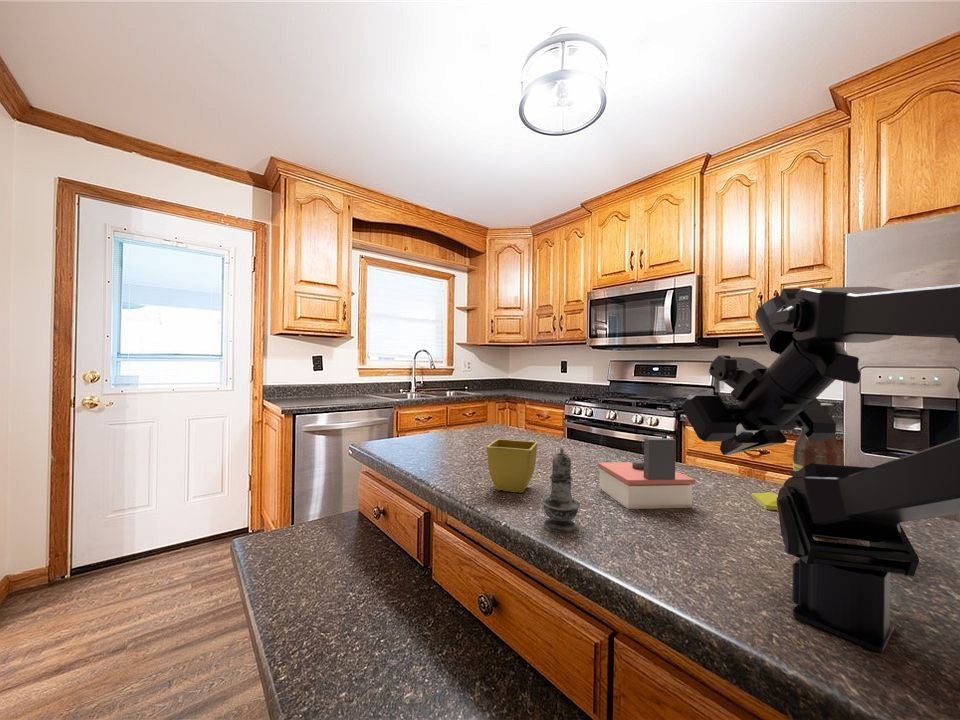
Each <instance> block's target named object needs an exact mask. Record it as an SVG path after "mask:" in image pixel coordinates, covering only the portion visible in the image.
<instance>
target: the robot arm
mask: <svg viewBox="0 0 960 720" xmlns="http://www.w3.org/2000/svg"><path fill="white" fill-rule="evenodd" d="M754 315H755V316H754V317H755V321H756V324H757V325H758V328H759V330H760V331H761V334H762V336H763V338H764V340H765V342H766V344H767V346H768V347H769V350H770V351H771V352H774V353H776V354H778V355H779V356H777V357H776V358H775V360H774V361H773V362H772V363H771V364H770V365H769V367H768V366H766V365H764V364H762V363H760V361H757V360H755V359H753V358H751V357H750V358H749V357H744V356H743V357H741V356H737V357H736V356H730V355H728V354H727V355H725V354H724V355H722V354H720V355H717V357H715V358H714V360H713V361H712V362H711V364H710V366H709V369H708V372H709V375H710V376H711V377H713V378H714V379H716V380H717V381H719V382H723V383H724V384H726V385H727V386H729V387H730V388H731V389H732V391H730V393H729V394H730V395H731V396H732V398H733V399H734V401H738V402H739V403H738V404H725V403H724V401H723V400H722V399H721V397H720V396H719V395H715V394H689V395H687V397H686V398H685V400H684V401H683V402H682V404H681V406H680V407H681V410H682V412H683V413H684V415H685V416H686V418H687V420H688V422H689V424H690V425H691V427H692V429H693V430H694V432H695V434H696V436H697V438H698V439H699V440H700V441H701V440H702V441H703V442H706V443H707V442H708V443H709V442H715V443H716V442H720V445H719V446H720V447H719V451H720V452H721V454H722V455H723V456H729V455H730V456H731V455H734V454H738V453H743V452H747V451H751V450H755V449H761V448H766V447H770V446H775V445H781V444H783V445H784V444H785V443H787V441H788V440H787V438H786V437H785V435H784V434H783V431H793V430H795V429H797V428H800V429H801V427H803V424H802V423H805V425H806V426H807V427H808V428H809V431H808V432H806V433H805V436H806V438H807V439H808V441H826V440H828V439H829V438H830V437H831V436H833V435H834V436H835V434H837V422H836V421H835V420H834V418H833V417H832V418H831V417H830V416H829V414H828V413H827V412H826V411H825V410H824V409H823V408H822V406H821V403H822V402H820V401H819V400H818V399H817V398H818V397H819V396H820V395H821V394H822V393H823V392H824V391H825V390H826V389H827V388H829V387H830V385H832V384H833V383H834V382H835V381H839V382H846V383H850V384H854V385H856V384H859V383H860V380H861V371H860V368H859V361H860V358H859V357H858V356H854V355H850V354H849V353H848V352H847V351H846V349H845V348H844V347H843V345H842V344H840V343H852V344H853V343H856V344H857V343H858V344H864V343H866V344H867V343H868V344H869V343H874V342H875V343H876V342H881V341H886V340H890V339H891V338H893V337H894V336H899V337H900V336H901V337H921V338H945V339H947V338H948V339H956V341H957V343H959V344H960V283H957V284H956V283H955V284H945V285H935V286H927V287H926V286H925V287H917V288H905V289H893V288H888V287H887V288H886V287H880V286H879V287H877V286H840V287H839V286H838V287H835V286H834V287H804V288H801V287H799V288H796V287H795V288H794V287H793V288H782V289H781V292H780V294H779V295H778V296H774V297H772V298H770V299H768V300H766V301H765V302H763V304H762V305H760V307H758V308H757V309H756V311H755V314H754ZM956 387H957V389H958V390H957V391H958V392H959V394H960V375H959V376H958V381H957V385H956ZM789 472H790V477H789V478H787V479H786V480H785V481H784V482H783V485H782V486H781V487H780V489H779V490H778V494H777V495H778V497H777V507H778V511H777V512H778V519H779V526H780V527H779V528H780V534H781V538H782V542H783V545H784V552H785V553H786V554H788V555H791V556H793V557H796V558H798V559H796V560H795V561H794V562H793V564H792V581H791V582H792V583H791V584H792V585H791V586H792V587H791V588H792V589H791V591H792V594H791V595H792V596H791V600H792V602H793V604H796V606H795V607H794V608H793V609H792V616H793V617H794V618H796V619H798V620H800V621H803V622H806V623H808V624H810V625H812V626H815V627H817V628H819V629H822V630H824V631H826V632H829V633H831V634H835V635H836V636H839V637H841V638H843V639H846V640H848V641H850V642H853V643H855V644H858V645H860V646H862V647H865V648H867V649H870V650H872V651H873V652H874V651H875V652H878V653H883V652H884V651H885V649H886V646H887V644H888V642H889V640H890V638H891V636H892V635H893V632H894V631H895V622H894V621H892V620H891V575H892V574H896V575H903V576H904V577H910V578H911V577H912V578H913V577H914V576H915V574H916V571H917V568H918V566H919V563H920V558H919V556H918V554H917V552H916V550H915V548H914V547H913V545H912V543H911V541H910V539H909V537H908V536H907V534H906V532H905V530H904V529H903V527H902V525H901V523H905V522H906V523H907V522H914V521H922V520H928V519H929V520H930V519H934V518H935V519H936V518H942V517H948V516H949V517H950V516H956V515H958V516H959V515H960V437H958V438H954V439H951V440H949V441H946V442H944V443H939V444H937V445H935V446H931V447H928V448H925V449H922V450H920V451H917V452H913V453H911V454H908V455H905V456H902V457H899V458H896V459H893V460H890V461H887V462H885V463H881V464H879V465H875V466H873V467H870V466H868V467H867V466H856V465H855V466H854V465H845V464H844V465H830V464H816V463H811V464H808V465H805V466H804V467H803V468H801V469H800V470H799V471H795V470H792V469H791V470H790V471H789ZM813 536H815V537H816V536H817V537H822V536H823V538H827V537H832V538H831V539H841V540H842V539H843V540H851V541H860V542H869V545H861V544H854V543H853V544H852V543H843V542H835V541H827V540H816V539H814V537H813Z"/></svg>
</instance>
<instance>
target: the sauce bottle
mask: <svg viewBox="0 0 960 720" xmlns="http://www.w3.org/2000/svg"><path fill="white" fill-rule="evenodd" d="M820 403H821V406H822V408H823V409H824V410H825V411H826V412H827V413H828V414H829V416H830V417H831V418H832V419H833V414H834V413H835V408H834V406H835V405H834V404H832V403H827V402H820ZM802 424H803V427H801V428H800V429H801V430H800V433H799V436H798V438H797V439H796V441H795V443H794V448H793V454H792V469H793V470H795V471H799V470H800V469H801V468H803V467H804V466H805V465H808V464H811V463H816V464H830V465H844V466H845V461H844V457H845V455H844V450H843V448H842V445H841V443H840V442H839V440H838V439H837V438H836V436H835V434H834V435H833V436H831V437H830V438H829V439H828V440H826V441H808V439H807V438H806V436H805V433H806V432H808V431H809V428H808V427H807V426H806V425H805V423H802ZM821 537H823V536H821ZM823 538H824V537H823ZM826 538H828V539H833V538H832V537H826Z"/></svg>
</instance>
